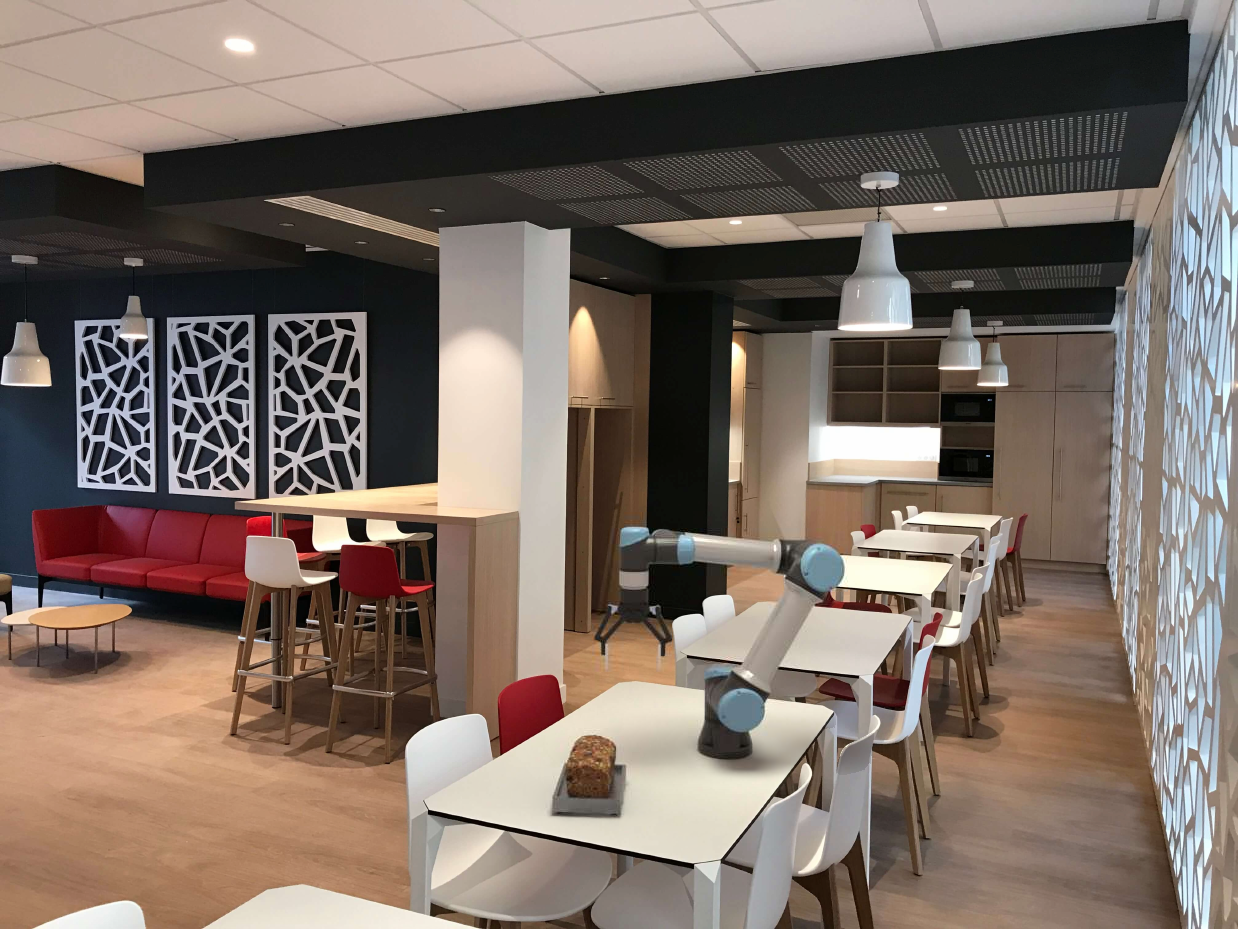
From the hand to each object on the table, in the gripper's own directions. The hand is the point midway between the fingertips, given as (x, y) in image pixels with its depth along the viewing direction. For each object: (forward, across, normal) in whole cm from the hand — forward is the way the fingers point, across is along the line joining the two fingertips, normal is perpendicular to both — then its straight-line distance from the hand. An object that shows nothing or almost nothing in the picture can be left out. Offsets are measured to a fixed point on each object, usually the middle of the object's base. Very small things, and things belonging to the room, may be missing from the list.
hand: (633, 668), depth 249 cm
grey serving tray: (+27, +9, +20) cm, 35 cm away
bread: (+24, +9, +20) cm, 32 cm away
